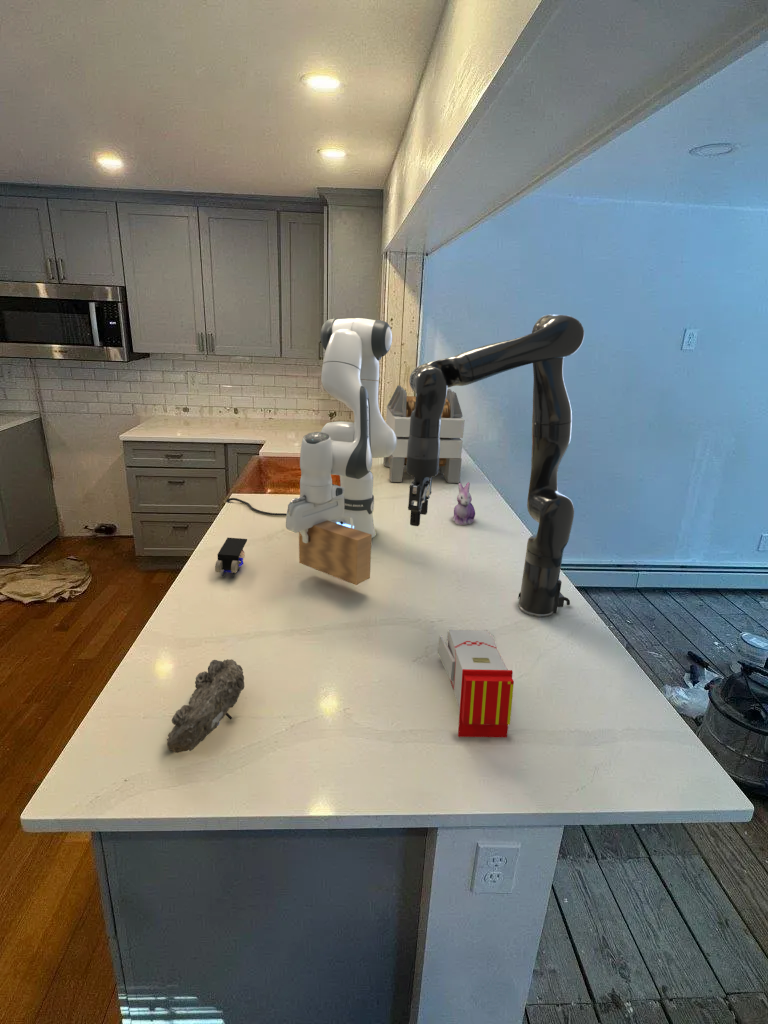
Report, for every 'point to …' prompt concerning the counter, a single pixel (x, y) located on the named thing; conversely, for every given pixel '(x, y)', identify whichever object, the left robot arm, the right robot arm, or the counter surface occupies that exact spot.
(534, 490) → the right robot arm
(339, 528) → the box
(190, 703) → the fossil
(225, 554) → the figurine character
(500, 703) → the toy
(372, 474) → the left robot arm
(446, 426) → the transformer
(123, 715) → the counter surface
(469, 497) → the figurine
